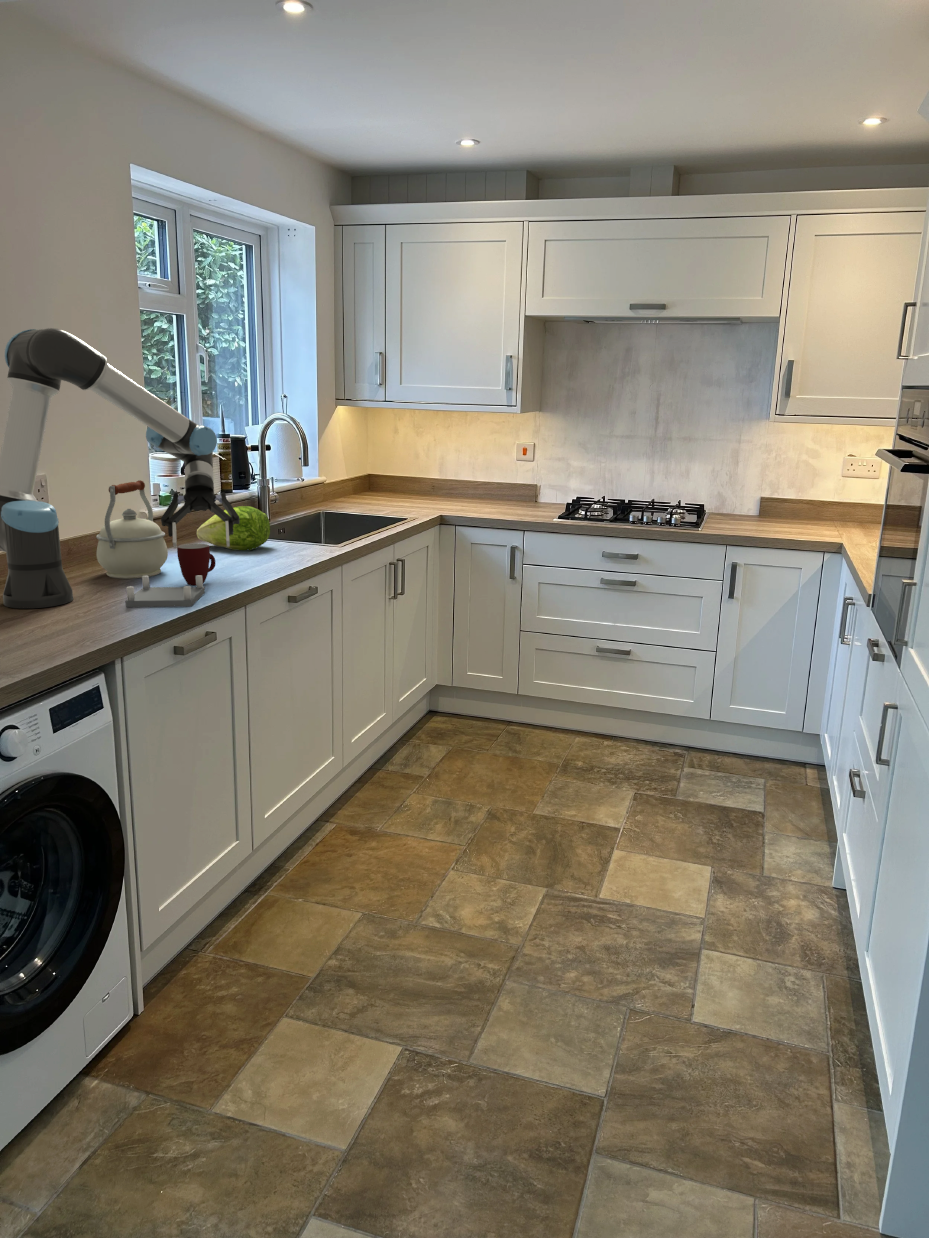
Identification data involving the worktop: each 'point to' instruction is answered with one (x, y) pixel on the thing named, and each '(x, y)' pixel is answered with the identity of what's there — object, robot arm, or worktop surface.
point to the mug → (195, 561)
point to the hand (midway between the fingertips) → (201, 544)
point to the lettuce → (237, 530)
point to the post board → (165, 595)
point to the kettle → (131, 540)
